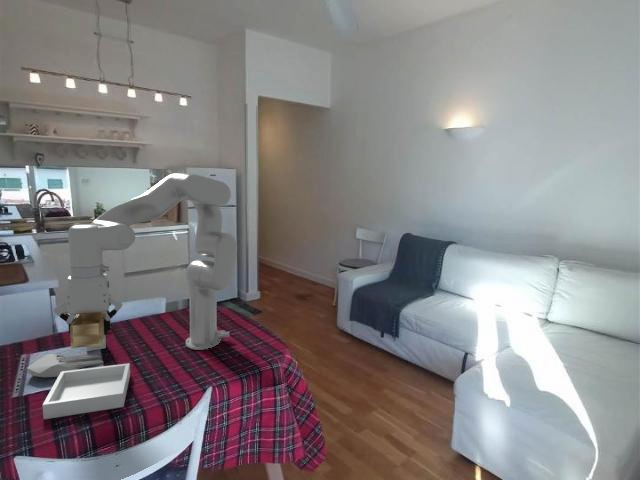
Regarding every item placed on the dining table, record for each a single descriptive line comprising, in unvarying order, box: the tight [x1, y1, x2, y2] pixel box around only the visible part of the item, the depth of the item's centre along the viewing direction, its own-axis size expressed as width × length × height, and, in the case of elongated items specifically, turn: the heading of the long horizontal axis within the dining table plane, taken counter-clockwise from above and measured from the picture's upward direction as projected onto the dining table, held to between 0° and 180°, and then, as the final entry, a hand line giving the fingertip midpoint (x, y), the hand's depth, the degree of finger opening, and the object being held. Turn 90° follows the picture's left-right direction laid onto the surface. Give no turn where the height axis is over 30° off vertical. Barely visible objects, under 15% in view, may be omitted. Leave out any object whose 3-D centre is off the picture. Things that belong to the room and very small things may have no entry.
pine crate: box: [69, 313, 107, 349], centre depth 104 cm, size 7×11×6 cm, turn 21°
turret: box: [26, 353, 104, 378], centre depth 120 cm, size 10×20×5 cm, turn 132°
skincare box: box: [85, 335, 107, 352], centre depth 134 cm, size 6×4×12 cm
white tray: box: [42, 363, 131, 420], centre depth 107 cm, size 18×17×4 cm
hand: (90, 334), depth 104 cm, fingers closed on pine crate, 7 cm apart
